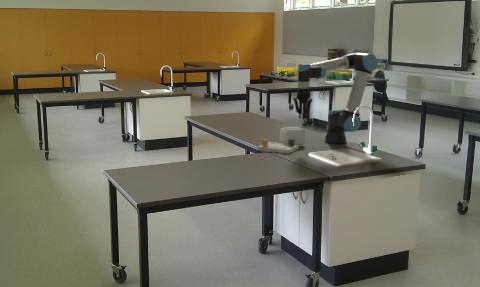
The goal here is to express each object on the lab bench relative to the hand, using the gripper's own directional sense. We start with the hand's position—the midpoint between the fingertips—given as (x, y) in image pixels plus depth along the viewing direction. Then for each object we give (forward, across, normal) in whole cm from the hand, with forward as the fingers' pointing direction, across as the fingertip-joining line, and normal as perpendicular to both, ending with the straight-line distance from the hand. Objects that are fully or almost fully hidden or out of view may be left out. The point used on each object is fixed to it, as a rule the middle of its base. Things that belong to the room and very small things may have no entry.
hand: (301, 123), depth 347 cm
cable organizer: (+18, -12, +13) cm, 25 cm away
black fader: (+15, -7, 0) cm, 17 cm away
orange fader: (+15, -21, -11) cm, 28 cm away
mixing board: (+18, -14, -5) cm, 23 cm away
